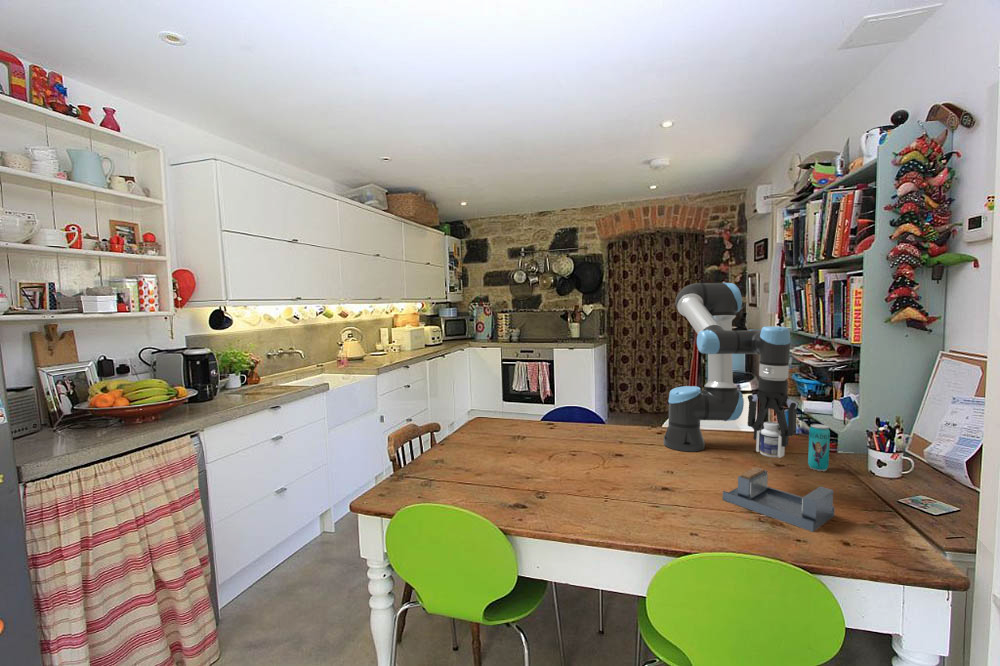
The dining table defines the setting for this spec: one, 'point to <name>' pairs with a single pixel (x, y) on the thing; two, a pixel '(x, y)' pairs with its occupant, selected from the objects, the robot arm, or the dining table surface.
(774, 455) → the pill bottle
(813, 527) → the vise bed
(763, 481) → the sliding jaw
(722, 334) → the robot arm
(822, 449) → the beverage can
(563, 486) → the dining table surface
